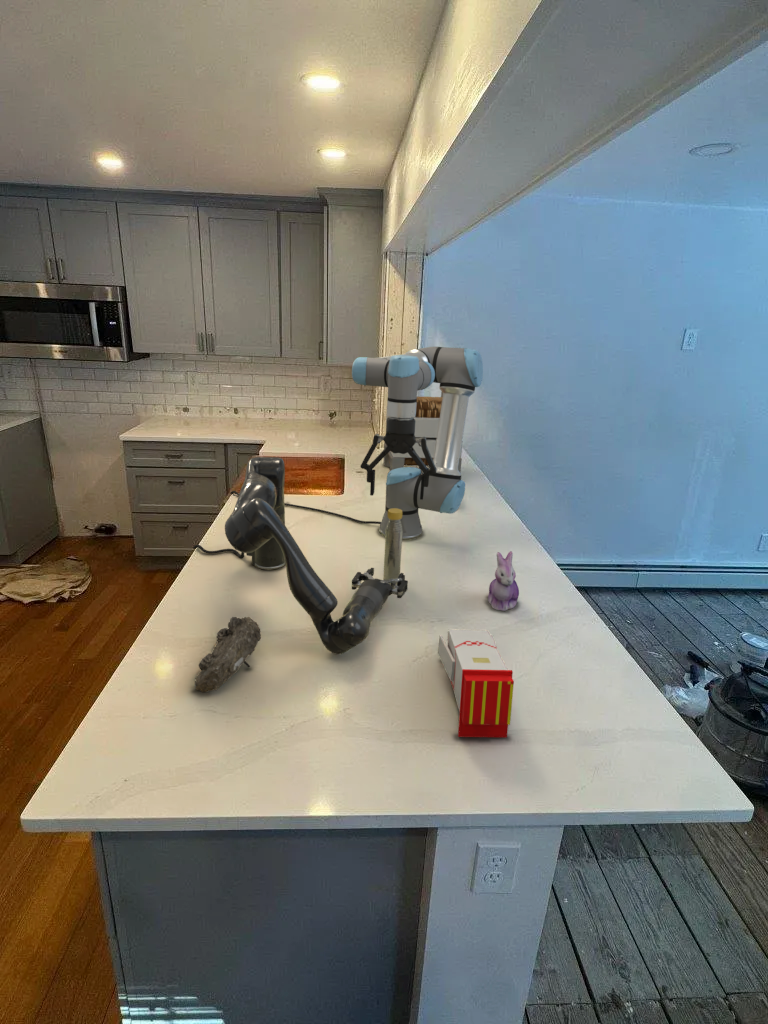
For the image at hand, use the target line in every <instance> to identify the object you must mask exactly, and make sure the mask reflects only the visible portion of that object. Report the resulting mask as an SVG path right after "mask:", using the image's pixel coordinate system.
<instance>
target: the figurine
mask: <svg viewBox="0 0 768 1024" xmlns="http://www.w3.org/2000/svg"><path fill="white" fill-rule="evenodd" d="M513 556H514V553H513V551H512V550H510V551H508V553H507V555H506V556H505V558H504V556H503V555H502V553H501V552H500V551H497V552H496V562H497V563H496V564H497V567H496V569H495V571H494V576H495V578H494V579H492V581H491V582H489V585H488V596H487V601H488V602H487V603H489V605H491V608H492V609H493V610H496V611H497V610H498V611H503V612H505V611H507V610H511V609H514V608H515V606H516V605H517V603H518V599H519V596H520V590H519V585H518V583H517V581H516V576H517V575H516V571H515V568H514V566H513Z"/></svg>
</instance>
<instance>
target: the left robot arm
mask: <svg viewBox="0 0 768 1024" xmlns="http://www.w3.org/2000/svg"><path fill="white" fill-rule="evenodd" d="M285 481H286V465H285V461H284V459H283V458H282V457H279V456H277V457H276V456H256V457H255V456H254V457H252V458H250V459H249V460H248V462H247V464H246V467H245V475H244V479H243V483H242V486H241V487H240V490H239V493H238V494H239V496H238V497H237V500H236V503H235V505H234V508H233V511H232V512H231V514H230V515H229V517H228V518H227V519H226V521H225V523H224V532H225V537H226V539H227V542H228V543H229V544H230V545H231V547H232V548H223V549H217V550H207V549H205V548H204V547H202V545H200V544H195V545H194V546H193V547H192V549H193V550H194V549H195V550H196V549H199V550H200V551H201V552H202V553H204V554H207V555H216V554H222V553H229V552H230V553H233V554H235V555H236V556H237V558H240V559H242V558H244V557H245V554H246V557H247V556H248V557H251V566H255V567H256V568H257V569H260V570H263V571H264V570H266V571H274V570H278V569H281V568H283V567H285V569H286V577H287V583H288V587H289V590H290V593H291V594H292V596H293V598H294V599H295V600H296V601H297V603H298V604H299V605H300V606H301V607H302V609H304V611H305V612H306V614H307V615H308V616H309V617H310V619H311V621H312V623H313V625H314V628H315V629H316V632H317V634H318V636H319V639H320V640H321V642H322V644H323V646H324V647H325V649H327V650H328V651H329V652H330V653H332V654H334V655H343V654H344V653H346V652H347V651H349V650H351V649H353V648H354V647H357V646H358V645H359V644H361V643H363V642H364V641H365V640H366V639H367V638H368V637H369V634H370V631H371V626H372V625H371V623H372V622H373V620H374V619H375V617H376V616H377V615H378V614H379V612H380V611H381V610H382V609H383V606H384V605H385V603H386V602H387V600H388V598H389V597H390V596H391V595H396V598H397V599H402V598H403V596H404V595H405V594H406V593H407V591H408V589H409V588H408V586H409V581H408V580H406V575H405V574H404V572H400V575H399V577H398V578H397V579H393V578H392V579H388V580H383V579H379V578H377V577H375V578H374V577H373V576H374V574H375V568H374V567H370V568H368V569H367V570H366V571H364V572H363V573H362V571H361V572H360V571H357V572H356V573H355V574H354V576H353V578H352V579H351V590H352V591H355V592H354V594H353V595H352V596H351V599H350V600H349V602H348V603H347V605H346V606H345V607H344V610H343V612H342V616H341V617H339V618H338V619H336V620H335V621H334V619H333V618H332V613H333V612H334V611H335V609H336V608H337V606H338V599H337V597H336V596H335V594H334V593H333V592H332V591H331V589H330V588H329V587H328V586H327V585H326V583H325V582H324V580H322V579H321V577H320V576H319V575H318V573H317V572H316V571H315V569H314V568H313V567H312V566H311V563H310V562H309V560H308V559H307V557H306V556H305V554H304V553H303V551H302V549H301V547H300V546H299V545H298V543H297V541H296V540H295V538H294V537H293V536H292V533H291V532H290V530H289V529H288V528H287V525H286V509H285V506H286V505H285V504H284V503H285V485H286V484H285V483H286V482H285ZM389 583H391V585H390V584H389ZM396 583H397V585H396ZM395 585H396V586H395Z"/></svg>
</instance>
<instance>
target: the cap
mask: <svg viewBox="0 0 768 1024" xmlns="http://www.w3.org/2000/svg"><path fill="white" fill-rule="evenodd" d="M387 517H388V518H389V519H392V520H399V519H401V518H402V510H401V509H397V508H391V509H388V516H387Z"/></svg>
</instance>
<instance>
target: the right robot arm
mask: <svg viewBox="0 0 768 1024" xmlns="http://www.w3.org/2000/svg"><path fill="white" fill-rule="evenodd" d="M483 364H484V363H483V359H482V355H481V353H480V352H479V350H477V349H473V348H467V347H447V346H428V347H427V346H426V347H421V348H416V349H410V350H408V351H406V352H405V353H403V354H395V355H386V356H379V357H368V356H365V357H364V356H359V357H356V358H355V359H354V361H353V363H352V367H351V378H352V380H353V382H354V383H355V384H356V385H361V386H364V387H367V386H369V387H380V388H387V400H386V412H387V416H389V417H388V418H387V419H386V418H385V435H380V433H375V434H374V436H373V439H372V444H371V445H370V448H369V449H368V451H367V453H366V455H365V456H364V458H363V460H362V462H361V464H360V466H359V467H360V469H364V470H366V482H367V483H370V486H369V487H370V488H369V495H370V496H374V494H375V489H376V469H374V468H375V467H376V466H377V465H378V464H379V463H380V462H381V461H382V460H384V456H385V455H386V454H388V453H389V451H391V452H393V453H401V454H405V453H407V452H408V454H409V455H410V456H411V457H412V458H413V460H414V461H415V462H416V464H417V465H418V466H417V467H416V466H406V467H405V466H404V467H403V468H397V469H393V470H391V471H390V470H389V471H388V473H387V475H386V482H385V504H384V505H385V507H384V508H385V509H384V513H383V515H382V519H381V521H377V520H376V521H374V520H373V521H372V520H369V521H368V520H367V521H365V520H360V519H356V518H353V517H350V516H348V515H344V514H340V513H336V512H333V511H328V510H324V509H319V508H314V507H311V506H310V507H309V506H303V505H298V504H291V503H288V502H287V503H286V502H284V504H285V506H286V507H293V508H298V509H304V510H310V511H315V512H319V513H324V514H328V515H332V516H336V517H339V518H343V519H346V520H350V521H353V522H356V523H359V524H366V525H368V524H369V525H371V524H373V525H379V527H378V533H379V534H380V535H381V536H382V537H385V534H386V526H387V524H388V522H389V520H390V519H389V518H388V517H387V516H388V509H391V508H397V509H401V510H402V518H401V519H400V521H401V524H402V529H403V532H402V541H410V540H415V539H418V538H420V537H421V536H422V535H423V525H422V524H421V518H420V515H419V509H420V510H424V511H425V510H426V511H430V512H438V513H440V514H449V515H450V514H451V515H452V514H454V513H456V512H457V511H458V510H459V508H460V506H461V504H462V502H463V499H464V496H465V491H466V481H464V480H463V479H462V473H460V472H459V471H458V464H459V458H460V451H461V445H462V446H463V443H462V441H463V439H464V431H465V425H466V418H467V412H468V406H469V398H470V397H471V396H472V395H474V393H475V390H476V388H479V387H480V386H481V385H482V382H483V377H484V365H483ZM433 383H436V384H439V387H438V388H439V390H440V392H442V393H443V398H442V405H441V411H440V418H439V425H438V432H437V438H436V445H435V452H434V459H433V460H432V457H431V455H430V452H429V450H428V448H427V444H426V437H422V438H415V419H414V417H416V404H417V396H418V391H423V390H426V389H427V388H429V387H430V386H431V385H432V384H433ZM382 441H383V443H384V442H385V444H386V445H387V447H386V448H385V449H384V448H383V450H382V451H381V452H380V453H379V454H378V455H377V456H376V457H375V458H374V459H373V460H372V462H371V463H370V464H369V463H368V462H369V461H370V459H371V457H372V455H373V454H374V452H375V450H376V449H377V446H378V445H379V444H381V443H382ZM415 443H418V445H419V446H420V447H422V451H423V453H424V456H425V458H426V460H427V463H428V466H426V465H425V464H424V463H423V461H422V460H421V458H420V457H419V456H418V454H417V453H416V452H415V450H414V448H413V446H414V444H415ZM230 494H231V495H233V494H235V495H236V496H238V497H239V493H238V492H237V491H236V490H232V491H231V492H230Z"/></svg>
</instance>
